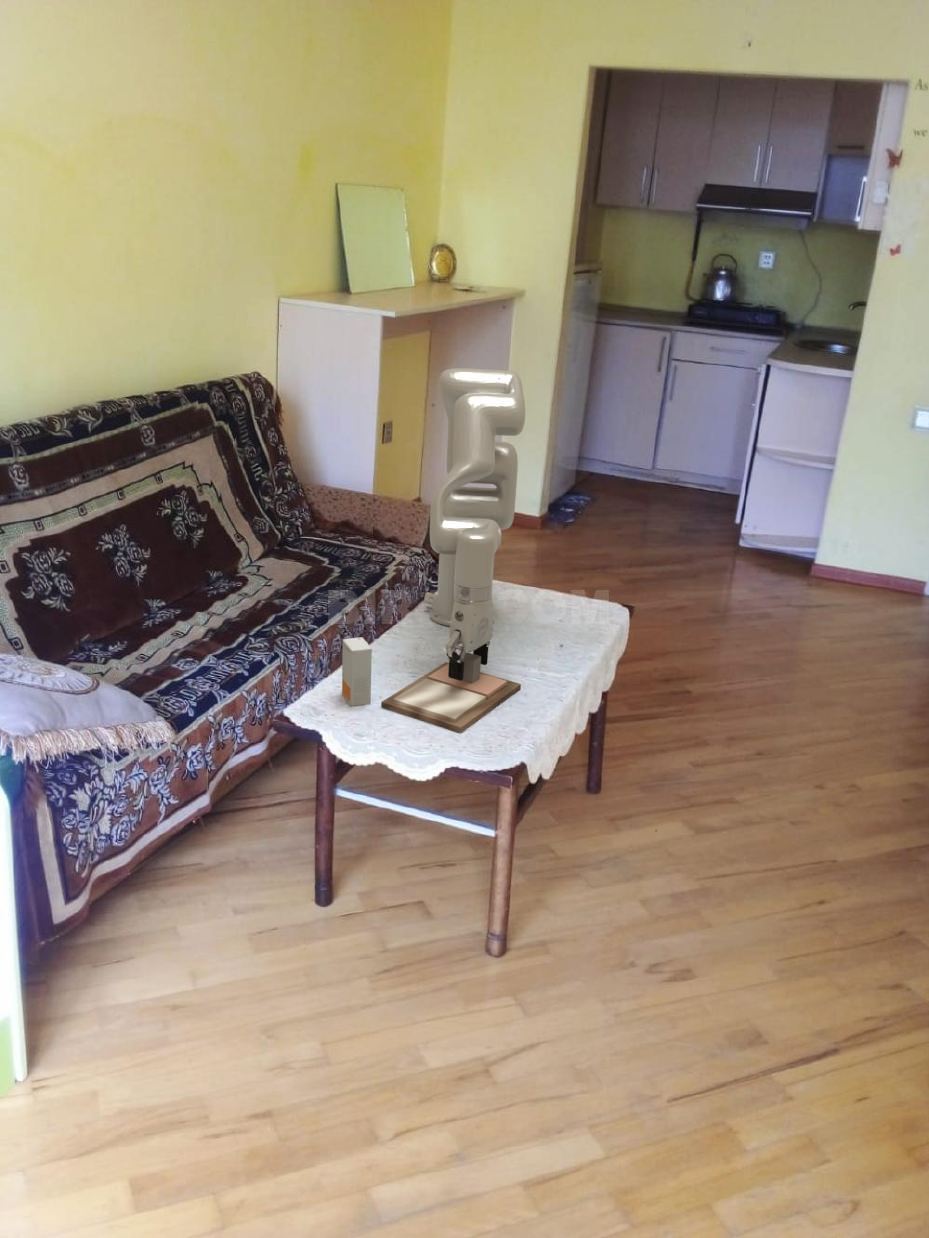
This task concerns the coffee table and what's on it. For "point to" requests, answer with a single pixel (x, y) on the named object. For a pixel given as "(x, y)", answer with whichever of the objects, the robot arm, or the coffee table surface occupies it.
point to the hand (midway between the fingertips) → (468, 670)
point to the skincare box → (356, 671)
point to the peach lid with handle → (470, 677)
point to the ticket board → (446, 702)
